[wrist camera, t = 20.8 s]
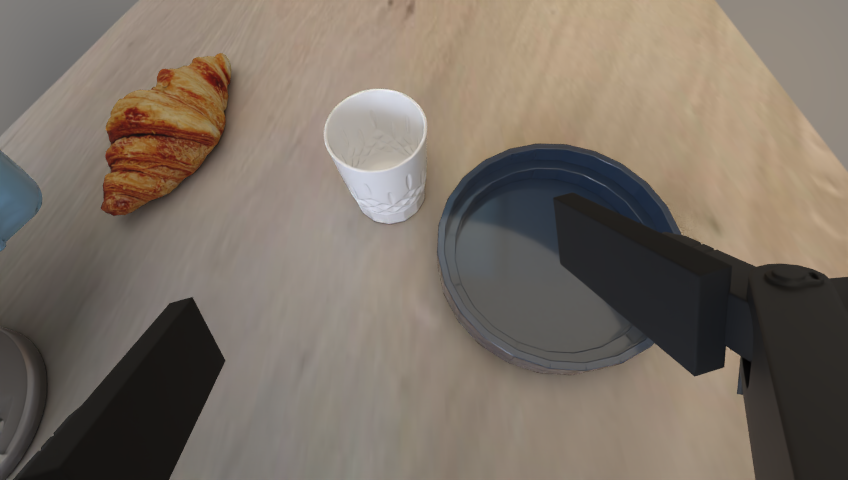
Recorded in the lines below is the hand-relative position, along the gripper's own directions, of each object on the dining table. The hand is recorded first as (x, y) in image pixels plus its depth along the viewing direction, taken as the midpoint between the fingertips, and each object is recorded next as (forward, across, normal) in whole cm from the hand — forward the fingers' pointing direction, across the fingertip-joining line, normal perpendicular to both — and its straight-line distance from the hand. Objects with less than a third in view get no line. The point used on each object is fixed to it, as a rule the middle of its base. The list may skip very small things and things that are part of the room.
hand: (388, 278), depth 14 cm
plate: (+18, +13, -11) cm, 25 cm away
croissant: (+35, -18, +5) cm, 40 cm away
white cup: (+26, +1, -4) cm, 26 cm away
